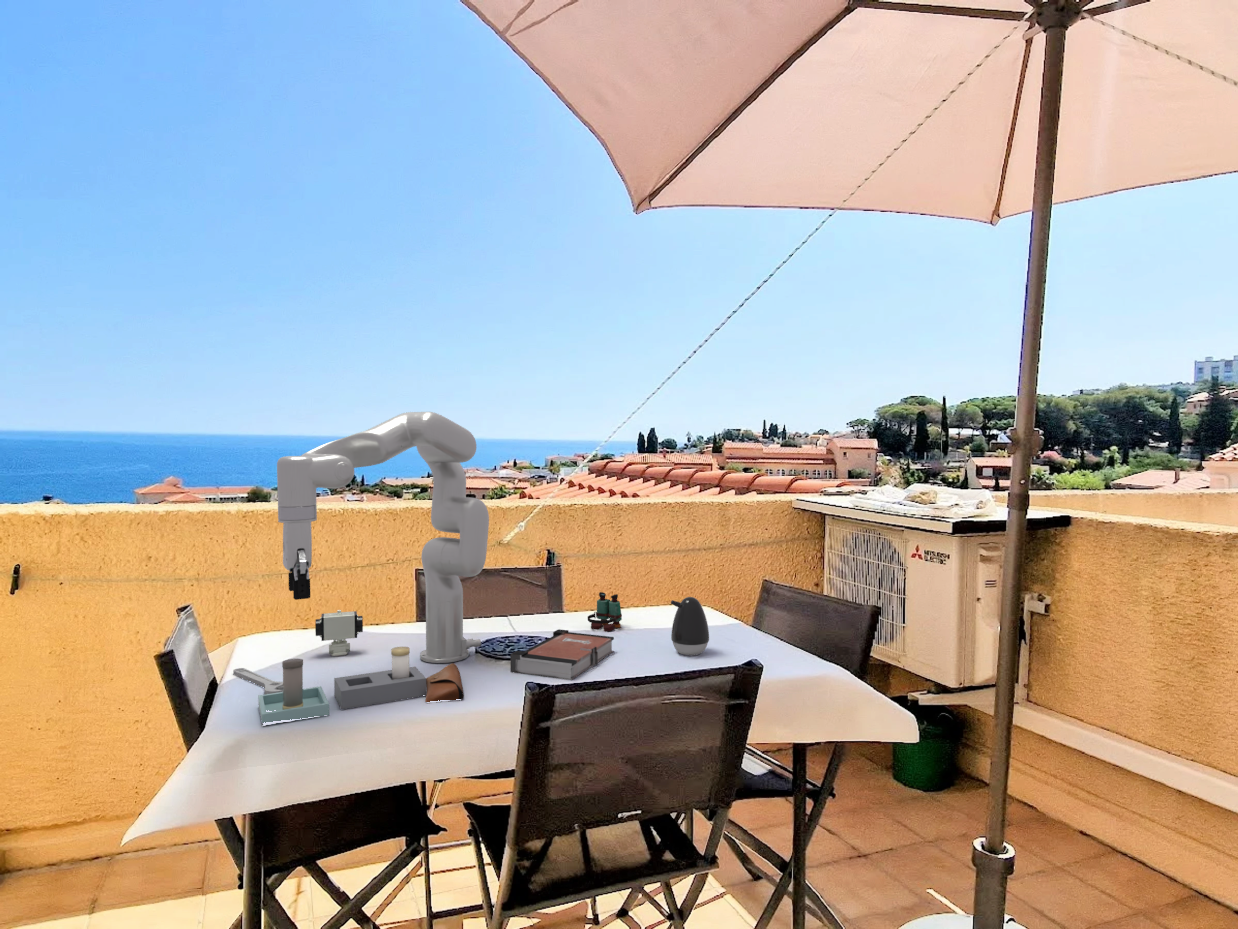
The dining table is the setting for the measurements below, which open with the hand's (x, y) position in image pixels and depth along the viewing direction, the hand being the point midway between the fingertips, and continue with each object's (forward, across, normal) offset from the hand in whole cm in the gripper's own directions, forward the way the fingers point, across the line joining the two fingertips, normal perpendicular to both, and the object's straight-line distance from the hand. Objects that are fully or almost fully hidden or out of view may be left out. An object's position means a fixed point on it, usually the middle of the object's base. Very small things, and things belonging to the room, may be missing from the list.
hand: (299, 594), depth 158 cm
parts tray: (+24, +2, -2) cm, 25 cm away
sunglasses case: (+25, +3, +30) cm, 39 cm away
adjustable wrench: (+25, -22, -6) cm, 34 cm away
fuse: (+25, +1, +21) cm, 32 cm away
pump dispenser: (+26, +6, +96) cm, 100 cm away
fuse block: (+25, +1, +16) cm, 29 cm away
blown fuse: (+24, +2, -2) cm, 24 cm away
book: (+26, -3, +64) cm, 69 cm away
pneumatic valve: (+25, -38, +13) cm, 48 cm away
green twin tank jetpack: (+26, -28, +88) cm, 96 cm away
